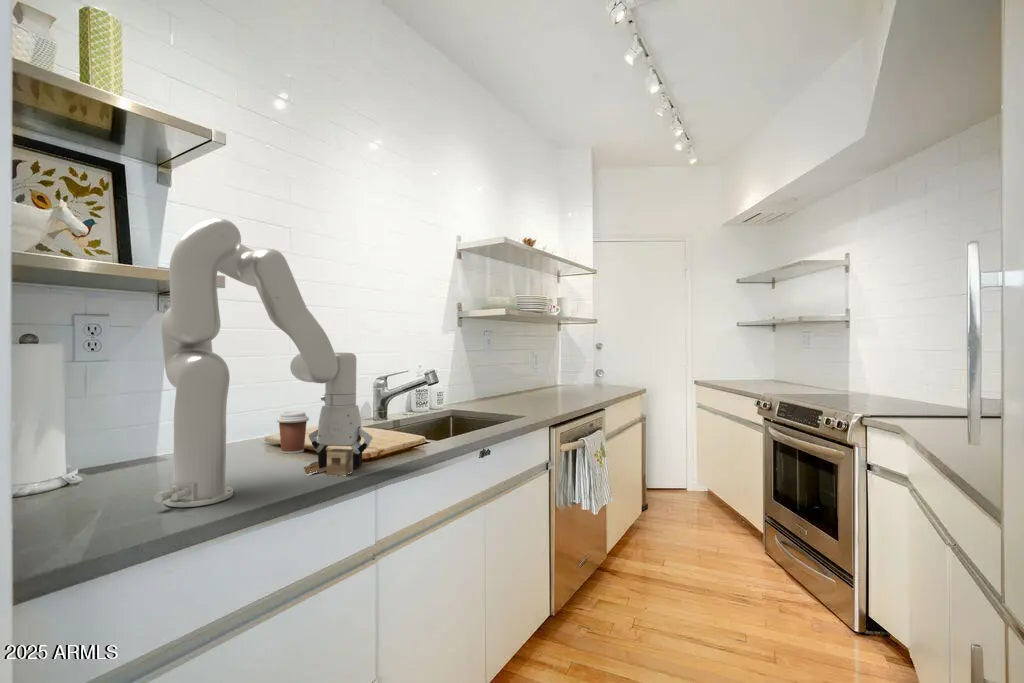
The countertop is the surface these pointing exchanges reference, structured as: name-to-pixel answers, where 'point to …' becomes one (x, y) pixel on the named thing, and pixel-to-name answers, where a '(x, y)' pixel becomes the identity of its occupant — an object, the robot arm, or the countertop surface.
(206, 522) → the countertop surface
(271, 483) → the countertop surface
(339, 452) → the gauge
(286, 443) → the coffee cup
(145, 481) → the countertop surface
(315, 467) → the wooden fragment
